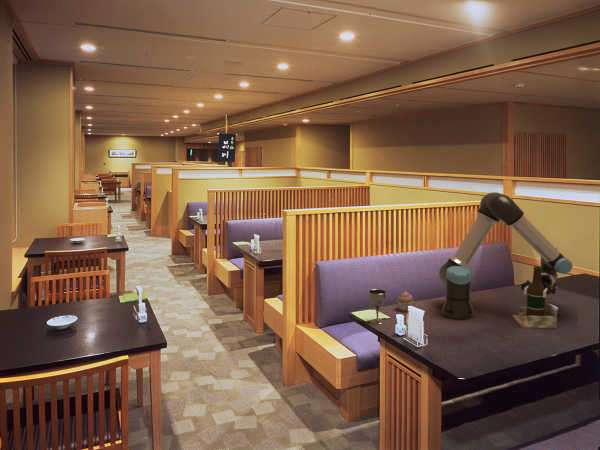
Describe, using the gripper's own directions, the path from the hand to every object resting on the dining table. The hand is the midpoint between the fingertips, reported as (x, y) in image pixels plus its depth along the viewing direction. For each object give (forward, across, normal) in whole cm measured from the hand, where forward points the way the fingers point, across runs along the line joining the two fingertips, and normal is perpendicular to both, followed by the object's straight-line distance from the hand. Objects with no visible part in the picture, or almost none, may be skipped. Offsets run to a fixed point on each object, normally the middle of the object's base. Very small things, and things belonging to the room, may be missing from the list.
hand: (534, 293), depth 217 cm
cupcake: (+11, +58, -16) cm, 61 cm away
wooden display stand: (-5, 0, -16) cm, 16 cm away
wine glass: (+35, +62, -16) cm, 73 cm away
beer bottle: (-5, 0, -13) cm, 14 cm away
